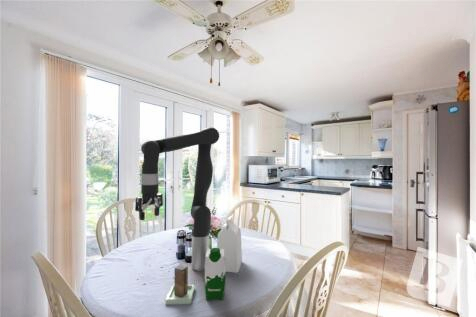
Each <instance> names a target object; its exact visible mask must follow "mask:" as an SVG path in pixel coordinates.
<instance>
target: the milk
mask: <svg viewBox="0 0 476 317" xmlns="http://www.w3.org/2000/svg"><path fill="white" fill-rule="evenodd" d="M216 239H217V242H216V248H219V249H224V250H225V256H226V260H225V261H226V273H229V272H230V273H236V274H237V273H239V271H240V268H241V266H242V264H243V256H242V255H243V253H242V251H243V250H242V232H241V227H239V226H238V225H237V224H236V223H235V222H234V221H233V216H229V217H228V218H227V220H226V223H224V224H223V225H222V226H221V230H220V231H218V234H217V238H216Z"/></svg>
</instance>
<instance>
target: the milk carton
mask: <svg viewBox="0 0 476 317" xmlns="http://www.w3.org/2000/svg"><path fill="white" fill-rule="evenodd" d="M225 260H226V256H225V250H224V249H219V248H217V247H212V248H210V249H208V250H207V252H206V257H205V270H204V292H205V300H206V301H214V300H215V301H219V300H220V301H223V300H224V294H225V289H226V279H227V278H226V277H227V276H226V273H227V272H226V261H225Z"/></svg>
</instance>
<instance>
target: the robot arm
mask: <svg viewBox="0 0 476 317" xmlns="http://www.w3.org/2000/svg"><path fill="white" fill-rule="evenodd" d="M219 139H220V132H219V130H218V129H216V128H215V127H210V126H209V127H204V128H202V129H200V131H197V132H193V133H187V134H180V135H173V136H168V137H164V138H161V139H157V140H156V139H155V140H148V141H145V142H144V143H142V144H141V147H140V150H141V153H142V154H143V161H142V163H141V178H140V179H141V180H140V183H141V185H140V188H141V190H140V193H141V195H142V196H141V197H135V204H134V205H135V206H134V208H135V209H134V210H135V211H136V212H138V213H139V217H138V218H139V220H140V221H144V220H145V219H146V218H145V217H146V216H145V215H146V214H145V213H146V212H145V211H146V209H147V208H148V207H149V206H151V205H153V207H154V213H153V214H154V217H158V216H160V209H161V207H162V206H163V205H164V199H163V198H164V197H163V196H164V195H163V193H159V160H160V154H163V153H168V152H169V153H170V152H174V151H179V150H182V149H186V148H189V147H190V148H191V147H193V146H198V147H197V149H198V150H197V159H196V160H197V161H196V168H195V174H194V176H195V178H194V192H193V198H192V204H191V207H190V216H191V218H192V219H193V228H192V229H191V269H192V270H194V271H197V272H198V271H201V272H202V271H205V257H206V252H207V250H208V249H211V248H210V230H211V225H212V212H211V209H210V207H208V206H207V196H208V193H209V190H210V187H211V184H212V181H213V174H214V173H213V172H214V167H213V161H212V158H211V157H212V156H211V149H212V145H214V144H215V143H218V141H219ZM135 211H134V212H135Z"/></svg>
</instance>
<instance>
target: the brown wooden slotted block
mask: <svg viewBox="0 0 476 317" xmlns="http://www.w3.org/2000/svg"><path fill="white" fill-rule="evenodd" d="M188 278H189V267H188V265H184V264H179V265H177V266H175V267H174V285H175V290H174V295H175V296H177V297H180V298H183V297H184V295H186V294H187V293H188V285H189V283H188V282H189V279H188Z"/></svg>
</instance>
